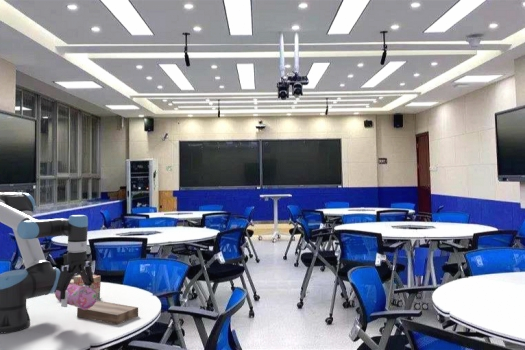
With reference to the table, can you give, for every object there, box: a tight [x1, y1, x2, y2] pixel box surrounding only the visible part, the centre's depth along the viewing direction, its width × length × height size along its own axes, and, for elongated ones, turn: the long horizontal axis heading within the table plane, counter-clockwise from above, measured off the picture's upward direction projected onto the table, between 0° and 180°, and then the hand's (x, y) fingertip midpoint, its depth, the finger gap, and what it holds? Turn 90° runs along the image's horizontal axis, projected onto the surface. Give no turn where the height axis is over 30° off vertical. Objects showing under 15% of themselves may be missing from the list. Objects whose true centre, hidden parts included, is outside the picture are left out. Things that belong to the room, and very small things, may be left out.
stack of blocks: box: [70, 274, 102, 300], centre depth 215 cm, size 21×6×12 cm, turn 80°
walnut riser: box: [76, 300, 139, 325], centre depth 184 cm, size 13×25×4 cm, turn 65°
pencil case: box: [54, 282, 99, 310], centre depth 168 cm, size 21×9×9 cm, turn 52°
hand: (74, 303), depth 168 cm, fingers closed on pencil case, 10 cm apart
